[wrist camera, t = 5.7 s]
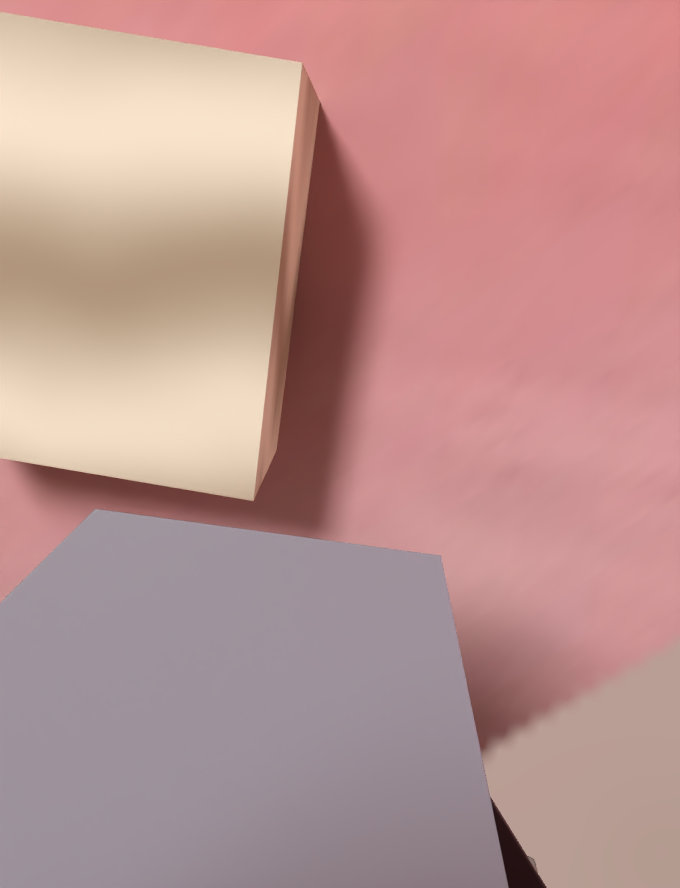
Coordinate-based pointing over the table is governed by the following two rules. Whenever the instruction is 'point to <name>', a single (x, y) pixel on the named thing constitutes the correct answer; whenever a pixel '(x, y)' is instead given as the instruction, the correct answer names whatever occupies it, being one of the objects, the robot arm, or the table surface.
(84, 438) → the flat wooden block
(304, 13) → the table surface
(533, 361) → the table surface
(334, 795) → the slate cube
